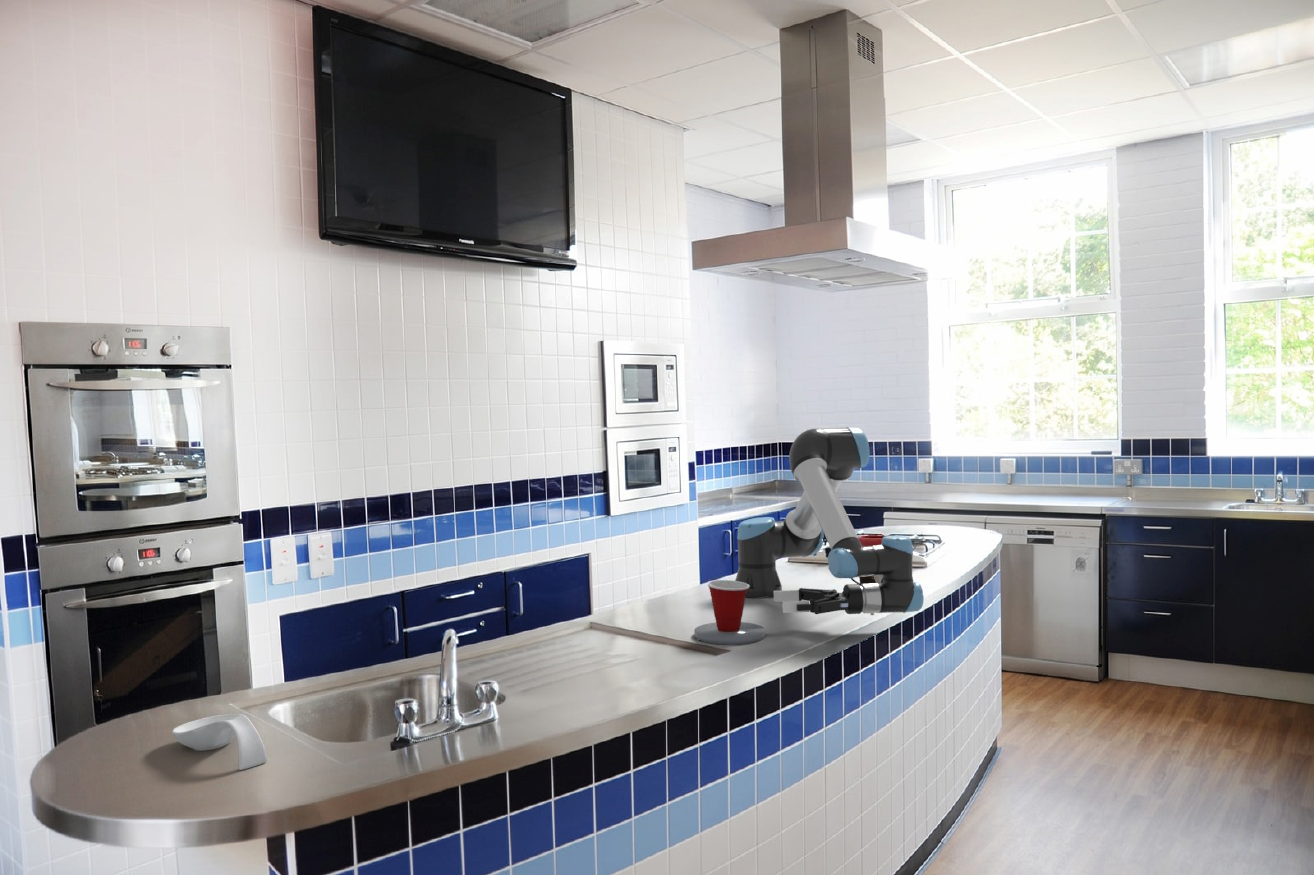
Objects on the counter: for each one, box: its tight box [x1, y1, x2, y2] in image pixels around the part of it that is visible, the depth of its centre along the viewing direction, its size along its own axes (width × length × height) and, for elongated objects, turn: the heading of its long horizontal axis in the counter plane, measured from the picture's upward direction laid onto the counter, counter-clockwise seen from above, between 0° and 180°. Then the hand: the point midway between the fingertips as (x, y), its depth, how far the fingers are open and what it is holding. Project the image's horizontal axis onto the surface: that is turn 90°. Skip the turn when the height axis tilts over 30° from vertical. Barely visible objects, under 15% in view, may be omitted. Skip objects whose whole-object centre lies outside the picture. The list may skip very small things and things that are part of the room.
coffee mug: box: [850, 575, 883, 585], centre depth 276 cm, size 12×9×10 cm
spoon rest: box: [171, 713, 268, 771], centre depth 156 cm, size 24×12×7 cm, turn 49°
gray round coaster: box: [693, 621, 766, 645], centre depth 228 cm, size 18×18×2 cm
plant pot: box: [858, 534, 887, 546], centre depth 317 cm, size 13×13×12 cm
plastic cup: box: [707, 579, 750, 632], centre depth 228 cm, size 11×11×12 cm
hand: (778, 601), depth 229 cm, fingers open, 13 cm apart
